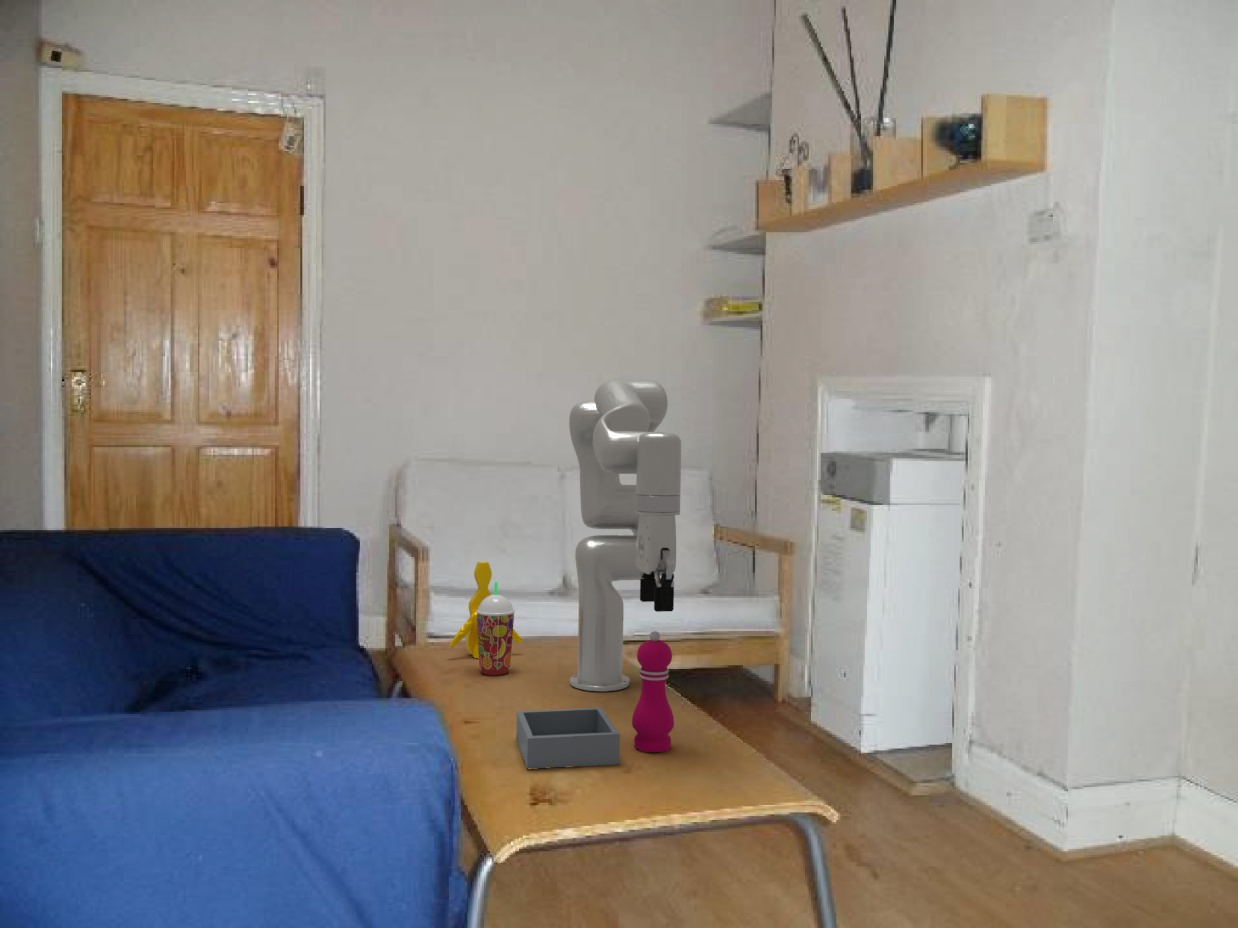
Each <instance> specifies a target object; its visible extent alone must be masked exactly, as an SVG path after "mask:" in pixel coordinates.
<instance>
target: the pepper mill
mask: <svg viewBox="0 0 1238 928" xmlns="http://www.w3.org/2000/svg"><path fill="white" fill-rule="evenodd" d="M649 638H650V639H649V640H645V641H644V642H642V643H641V644H640V645H639V646H638V649H637V653H636V660H637V661H638V663H639V665H640V666H641V667H640V668H639V678H641V685H642V686H641V693H640V695H639V696H640V697H639V699H638V702H637V703H636V706H635V708H634V710H633V713H632V719H631V725H632V728H633V729H634V731H635V732H636V733H637V734H634V740H633V741H634V742H633V743H634V744H633V747H634V748H635V750H637V749H638V750H637V751H639V752H644V753H648V752H660V753H665V752H667V751H670V749H671V748H672V747H671V746H672V745H671V744H672V737H671V736H670V735H669V734H670V732H672V730H673V729H674V725H675V719H674V718H675V717H674V714H673V710H672V708H671V705H670V703H669V700H668V697H667V693H666V692H667V691H666V686H667V685H666V684H667V679H669V672H670V670H669V668H668V667H669V666H670V664H671V662H672V660H673V653H672V649H671V646H669V645H668V643H666V642H665V641H663V640H661V639H660V638H661V635H660V633H659V632H658V631H656V630H653V631H652V632H650V633H649ZM670 747H671V748H670ZM664 751H665V752H664Z"/></svg>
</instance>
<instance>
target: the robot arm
mask: <svg viewBox="0 0 1238 928" xmlns="http://www.w3.org/2000/svg"><path fill="white" fill-rule="evenodd" d="M664 388H665V387H663V385H662V384H661V383H660V382H658V381H655V380H650V379H649V380H648V379H647V380H645V379H644V380H642V379H623V378H622V379H618V378H617V379H616V378H615V379H610V380H607V381H604V382H603V383H601V384H600V385H599V386H598V387H597V389H596V391H595V393H594V400H587V401H586V400H585V401H580V402H579V403H578V402H577V403H576V404H575V405H574V406H573V407H572V408H571V411H570V413H569V419H568V420H569V421H568V422H569V423H568V425H569V434H570V435H569V436H570V438H571V442H572V443H571V444H572V446H573V449H574V452H575V455H576V457H577V461H578V464H579V465H578V466H579V492H580V493H579V494H580V512H581V513H580V514H581V519H582V522H583V524H584V525H585V527H587V528H590V529H594V530H595V529H597V530H630V531H631V532H632V534H633V535H630V534H628V535H626V534H625V535H623V534H622V535H621V534H620V535H618V534H612V535H611V534H606V535H602V534H601V535H600V534H598V535H591V536H587V537H584V538H582V539H581V540H580V541H579V542H578V543H577V545H576V547H575V552H574V553H575V556H574V557H575V559H574V560H575V565H576V566H575V567H576V574H577V582H578V584H577V585H578V587H577V588H578V620H577V621H578V624H577V625H578V626H577V627H578V628H577V629H578V631H577V632H578V633H577V673H576V674H573V675H571V677H570V678H569V684H570V686H572V687H573V688H576V689H578V690H581V691H583V690H584V691H588V692H614V691H620V690H623V689H625V688H627V687H629V686H630V678H629V677H628V676H626V675H625V674H623V659H624V658H623V656H624V655H623V651H624V615H625V614H624V610H625V609H624V608H625V604H624V600H623V598H622V596H621V594H620V593H619V591H618V590H617V589H616V588H615V587H614V585H613V582H618V581H639V582H640V583H639V584H640V585H639V588H640V589H639V601H640V602H642V603H644V602H646V603H649V602H650V603H651V602H653V610H654V611H655V612H657V613H658V612H661V613H662V612H673V611H674V607H675V606H674V601H675V599H674V598H675V580H674V579H675V574H674V572H675V571H676V567H677V525H676V522H677V521H676V516H680V515H681V483H682V477H681V476H682V475H681V474H682V440H681V438H680V436H679V435H678V434H675V433H670V432H669V433H668V432H661V431H656V430H657V429H658V428H659V426H660V425H661V424H662V422H663V420H664V419H665V418H666V414H667V412H668V411H667V410H668V406H669V405H668V404H669V403H668V394H667V392H666V389H664ZM622 474H623V475H627V474H628V475H629V474H630V475H632V474H633V475H635V474H636V484H622V483H621V480H620V479H621V478H620V475H622Z"/></svg>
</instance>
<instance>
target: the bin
mask: <svg viewBox="0 0 1238 928" xmlns="http://www.w3.org/2000/svg"><path fill="white" fill-rule="evenodd" d="M515 731H516V733H515V734H516V736H515V739H517V740H516V742H518V743H517V745H519V746H518V748H519V747H520V748H519V751H520V750H521V751H520V754H521V753H522V754H521V756H523V757H522V759H523V758H524V760H523V762H524V761H525V762H524V764H526V765H525V767H527V768H546V767H547V769H549V768H548V767H565V768H567V767H566V766H582V767H598V766H599V765H600V766H613V765H614V766H615V765H617V764H618V765H620V751H621V750H620V749H621V747H620V746H621V745H620V743H621V742H620V741H621V739H620V738H621V733H620V732H619V731H618V729H617V728H616V726H615V725H614V724H613V722H612V721H611V719H610V717H608V715H607V713H606V712H605V710H604V708H602V707H587V708H585V707H581V708H557V709H556V708H555V709H539V710H538V709H537V710H533V709H532V710H517V711H516V730H515ZM527 768H526V769H527Z"/></svg>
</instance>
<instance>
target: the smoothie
mask: <svg viewBox="0 0 1238 928" xmlns="http://www.w3.org/2000/svg"><path fill="white" fill-rule="evenodd" d="M493 589H494V591H493V593H494V594H491V595H490V596H488V597H486V598H485V599H484V600H483V601H482V602H481V603H480V606H479V608H478V609H477V611H476V613H477V628H478V650H479V659H478V667H479V668H480V669H481V674H484V675H485V674H486V676H503V675H505V674H507V673H508V670H509V668H511V659H512V657H511V656H512V645H513V639H512V636H513V629H514V623H515V622H514V620H515V612H516V611H515V609H514V607H513V605H512V603H511V601H510V599H508V598H507V597H505V595H502V594H498V581H494V586H493Z"/></svg>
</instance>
